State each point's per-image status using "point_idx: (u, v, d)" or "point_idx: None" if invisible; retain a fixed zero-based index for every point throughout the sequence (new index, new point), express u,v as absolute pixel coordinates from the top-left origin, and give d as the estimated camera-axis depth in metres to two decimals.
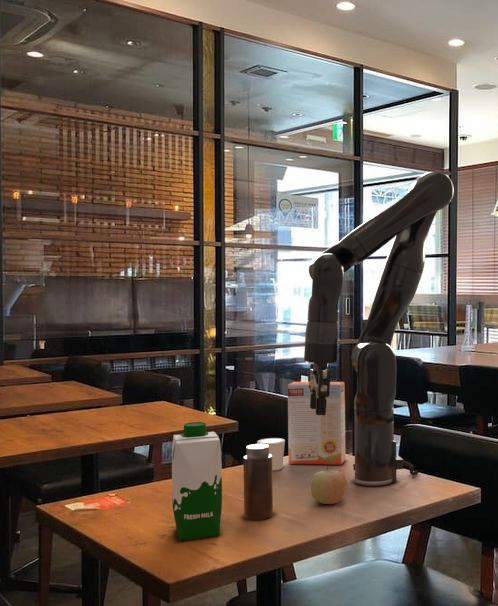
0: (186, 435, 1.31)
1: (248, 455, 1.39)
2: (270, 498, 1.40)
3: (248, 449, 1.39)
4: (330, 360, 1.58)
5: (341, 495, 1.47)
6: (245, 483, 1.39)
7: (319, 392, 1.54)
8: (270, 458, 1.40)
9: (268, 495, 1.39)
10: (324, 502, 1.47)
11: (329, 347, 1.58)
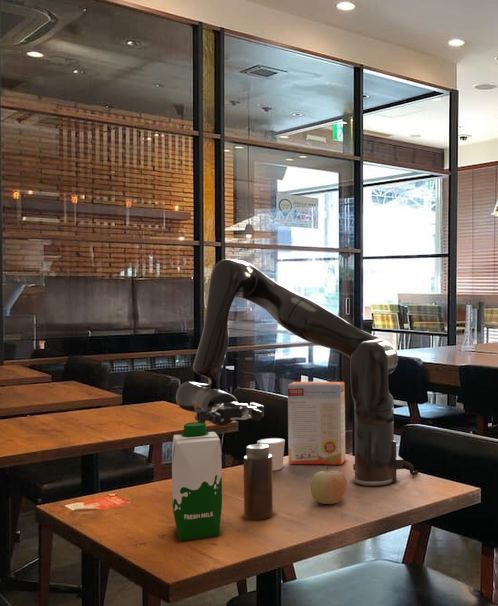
0: (186, 435, 1.31)
1: (248, 455, 1.39)
2: (270, 498, 1.40)
3: (248, 449, 1.39)
4: (207, 403, 1.58)
5: (341, 495, 1.47)
6: (245, 483, 1.39)
7: (199, 421, 1.51)
8: (270, 458, 1.40)
9: (268, 495, 1.39)
10: (324, 502, 1.47)
11: (203, 403, 1.61)
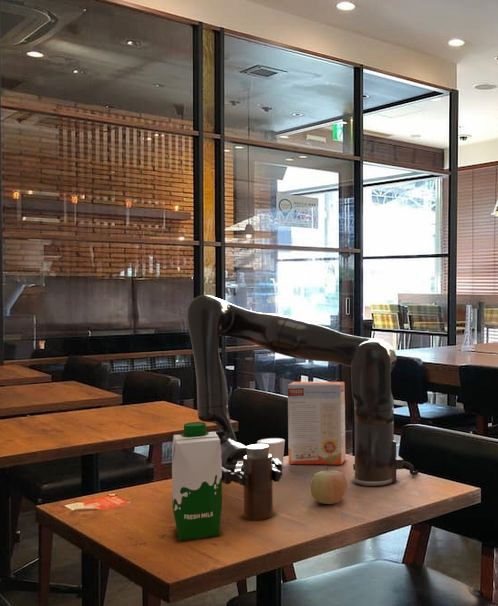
0: (186, 435, 1.31)
1: (248, 455, 1.39)
2: (270, 498, 1.40)
3: (248, 449, 1.39)
4: (226, 459, 1.48)
5: (341, 495, 1.47)
6: None
7: (224, 482, 1.40)
8: (270, 458, 1.40)
9: (268, 495, 1.39)
10: (324, 502, 1.47)
11: (221, 458, 1.50)
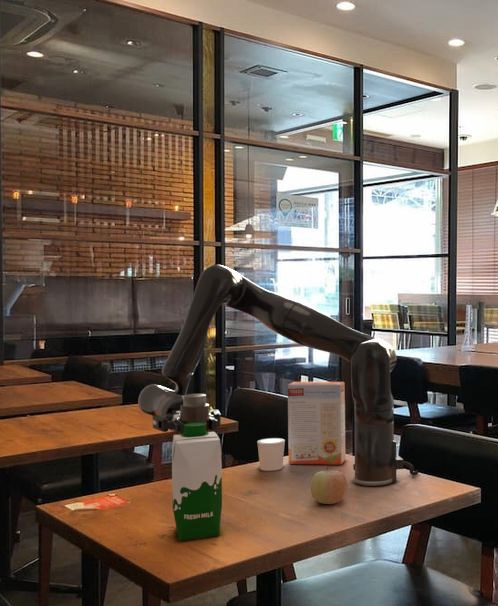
0: (186, 435, 1.31)
1: (184, 403, 1.42)
2: None
3: (184, 397, 1.42)
4: (166, 409, 1.50)
5: (341, 495, 1.47)
6: None
7: (161, 430, 1.43)
8: (206, 407, 1.43)
9: None
10: (324, 502, 1.47)
11: (162, 409, 1.53)
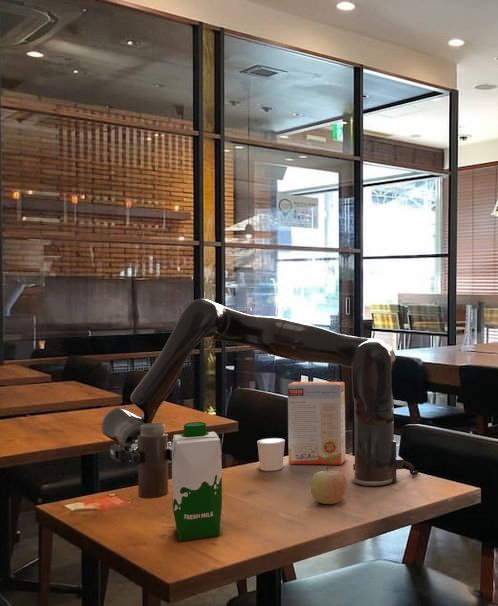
0: (186, 435, 1.31)
1: (141, 433, 1.39)
2: (164, 477, 1.40)
3: (141, 427, 1.39)
4: (125, 438, 1.47)
5: (341, 495, 1.47)
6: None
7: (118, 460, 1.40)
8: (164, 437, 1.40)
9: (161, 474, 1.39)
10: (324, 502, 1.47)
11: (122, 438, 1.50)
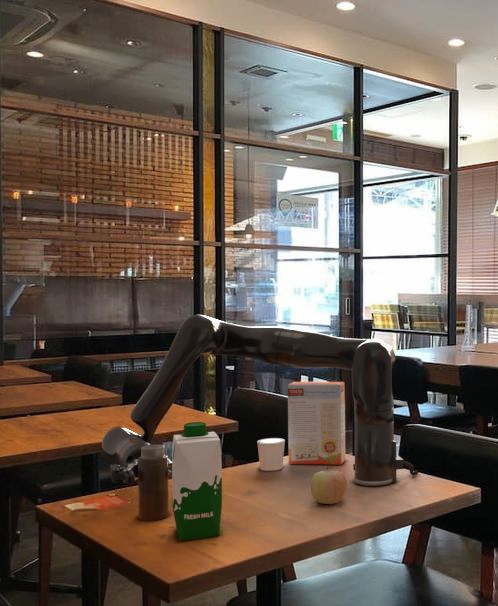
0: (186, 435, 1.31)
1: (142, 456, 1.39)
2: (165, 499, 1.40)
3: (142, 450, 1.39)
4: (126, 458, 1.47)
5: (341, 495, 1.47)
6: (139, 484, 1.39)
7: (112, 480, 1.40)
8: (165, 459, 1.40)
9: (162, 496, 1.39)
10: (324, 502, 1.47)
11: (123, 457, 1.50)
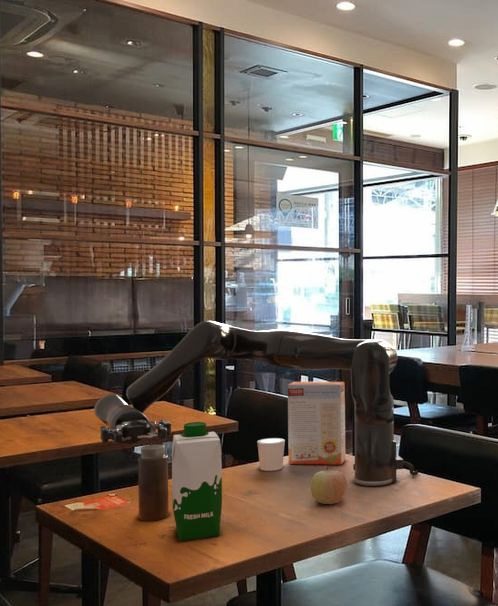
0: (186, 435, 1.31)
1: (142, 456, 1.39)
2: (165, 499, 1.40)
3: (142, 450, 1.39)
4: (115, 421, 1.58)
5: (341, 495, 1.47)
6: (139, 484, 1.39)
7: None
8: (165, 459, 1.40)
9: (162, 496, 1.39)
10: (324, 502, 1.47)
11: (112, 421, 1.61)
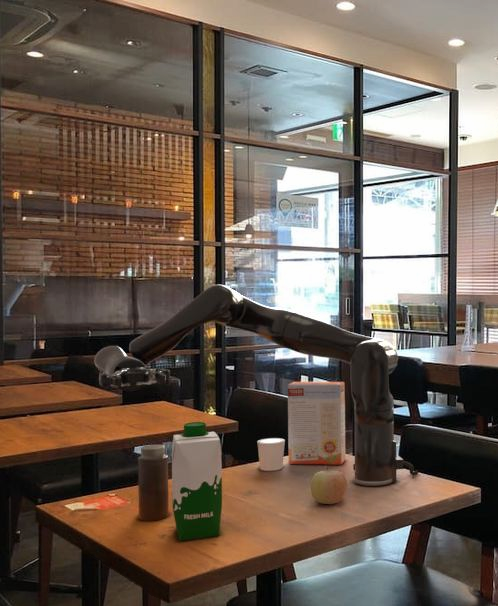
0: (186, 435, 1.31)
1: (142, 456, 1.39)
2: (165, 499, 1.40)
3: (142, 450, 1.39)
4: (114, 368, 1.58)
5: (341, 495, 1.47)
6: (139, 484, 1.39)
7: (101, 385, 1.50)
8: (165, 459, 1.40)
9: (162, 496, 1.39)
10: (324, 502, 1.47)
11: (111, 369, 1.60)
